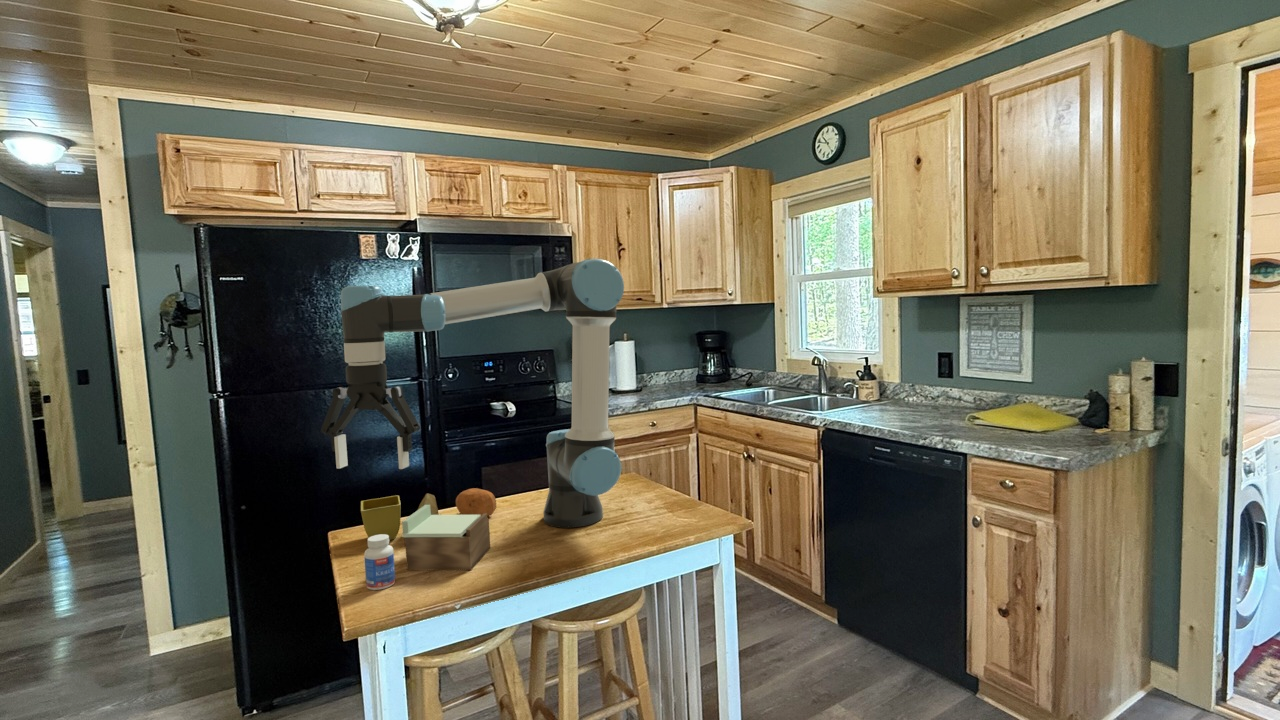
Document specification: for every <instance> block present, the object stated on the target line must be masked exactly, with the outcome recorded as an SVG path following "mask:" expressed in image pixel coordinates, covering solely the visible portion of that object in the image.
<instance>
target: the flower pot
mask: <svg viewBox="0 0 1280 720" xmlns="http://www.w3.org/2000/svg"><path fill="white" fill-rule="evenodd" d="M400 499H401V498H400V495H398V494H397V495H396V494H395V495H391V496H385V497H380V498H379V497H378V498H371V499H366V500H361V501H360V513H361V518H362V519H361V520H362V523H363V528H364V531H365V533H366V535H367V538H369V537H371V536H374V535H379V534H386V535H388V536H389V541H391V540H395V539H396V538H397V536H398V534H399V530H400V528H401V509H402V507H401V500H400Z"/></svg>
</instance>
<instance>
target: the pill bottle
mask: <svg viewBox="0 0 1280 720" xmlns="http://www.w3.org/2000/svg"><path fill="white" fill-rule="evenodd" d="M367 547H368V548H366V550H365V551H364V557H363V558H364V569H365V585H366V588H367V589H369V590H370V591H379V590H384V589H388V588H389V587H392V586H393V585H394V584H395V582H396V574H395V557H394V555H395V554H394V548H393V546H392V545H390V540H389V536H388V535H386V534H379V535H374V536H371V537H367Z"/></svg>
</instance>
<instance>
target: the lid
mask: <svg viewBox="0 0 1280 720" xmlns="http://www.w3.org/2000/svg"><path fill="white" fill-rule="evenodd" d="M480 516H481V515H461V514H439V515H431V508H430V505H424V506H423V507H421V508H420V509H419V510H418V509H417V510H416V511H415V512H413V513H412V514H410V515H409V516H407V517H406V518H405V519H404V520H402V521H401V522H402V523H401V525H402V534H401V537H402V538H405V537H461V536H463V535H464V534H465V533H466V530H467V529H468V528H469V527H470V526H471V525H472V524H473V523H474V522H475V521H476V520H477V519H478V518H479V517H480Z"/></svg>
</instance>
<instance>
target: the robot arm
mask: <svg viewBox="0 0 1280 720" xmlns="http://www.w3.org/2000/svg"><path fill="white" fill-rule="evenodd" d="M624 291H625V282H624V279H623V276H622V274H621V272H620V270H619V269H618V268H617V267H616V266H615V265H614V264H613V263H611V262H610V261H608V260H605V259H601V258H587V259H584V260H582V261H581V260H580V261H578V262H573V263H570V264H567V265H565V266H562V267H558V268H556V269H553V270H549V271H542V272H538V273H537V274H536V276H534V277H531V278H525V279H524V278H523V279H516V280H511V281H504V282H498V283H491V284H484V285H478V286H470V287H464V288H458V289H449V290H444V291H439V292H431V293H424V294H406V295H405V294H404V295H385V294H383V292H382V288H381V287H380V286H378V285H351V286H345V287H344V288H342V290H340V305H341V306H340V313H341V314H340V315H341V323H342V333H343V334H342V335H343V336H342V337H343V350H344V351H343V352H344V353H343V354H344V362H345V363H347V364H348V365H346V367H345V379H346V383H347V385H348V386H347V388H346V387H345V386H339V387H334V388H333V390H332V398H331V399H332V400H331V403H330V405H329V407H328V411H327V412H326V415H325V417H324V420H323V422H322V425H321V428H320V432H321V433H322V434H327V435H329V437H330V440H331V450H332V453H333V452H335V465H336V469H343V468H345V467H348V466H349V464H348V463H349V462H348V461H349V460H348V450H347V449H348V447H347V434H344V430H345V429H346V427H347V426H348V425H349V423H350V422H351V420H352V419H353V417H354V416H355V414H356V413H357V412H358V411H364V410H369V411H372V410H373V411H374V410H377V412H379V413H381V414H382V415H383V416H384V417H385V418H386V420H387V421H388V422H389V423H390V424H391V426H393V428H394V429H395V430H396V431H397V432H398V434H400V435H399V436H397V437H396V443H397V444H396V445H397V456H398V457H397V458H398V469H399V470H403V469H406V468H408V467H410V455H409V454H410V453H409V452H411V451H412V449H413V446H412V445H413V444H412V442H413V441H412V434H415V433H416V432H418V431H419V432H420V430H421V426H420V424H419V422H418V420H417V419H416V417H415V415H414V412H413V411H412V410H411V408H410V406H409V403H408V402H407V400H406V398H405V395H404V391H403V387H402V385H397V386H393V387H390V388H389V387H388V385H387V380H388V374H387V372H388V371H387V365H386V363H383V362H384V361H386V344H385V343H386V342H385V333H409V332H410V333H411V332H412V333H413V332H427V333H429V332H432V331H433V332H434V331H441V330H443V329H444V328H445V325H448V324H449V325H450V324H455V323H462V322H467V321H472V320H473V321H474V320H479V319H485V318H486V319H487V318H490V317H491V318H492V317H496V316H497V317H498V316H504V315H508V314H514V313H520V312H521V313H522V312H527V311H533V310H539V309H541V310H542V311H544V312H545V313H546V312H551V311H566V313H565V318H566V320H568V322H569V323H570V324H571V325H572V343H571V344H572V345H571V346H572V347H571V349H572V350H571V351H572V354H571V355H572V356H571V357H572V358H571V360H572V363H571V364H572V366H571V368H572V369H571V427H570V428H568V429H566V428H565V429H559V430H553V431H551V432H550V431H549V433H548V434H547V435H546V443H545V447H546V457H547V459H546V461H547V474H548V493H547V497H546V501H545V505H544V509H543V521H544V523H545V524H546V525H548V526H550V527H555V528H561V529H562V528H563V529H565V528H567V529H569V528H570V529H572V528H579V527H580V528H581V527H586V526H589V525H593V524H596V523H597V522H599V521H601V520H602V518H603V517H604V512H603V510H604V508H603V505H602V503H601V500H600V499H601V498H600V497H599V496H600V495H603V494H604V495H605V494H606V493H607V492H609V491H610V490H611V489H612V488H613V487H614V486H615V485H616V484H617V483H618V481H619V479H620V477H621V472H622V463H621V459H620V458H619V455H618V453H617V452H616V451H615V434H614V433H613V432H612V430H611V429H610V428H609V400H610V399H609V391H610V390H609V383H610V380H609V379H610V329H611V328H610V327H611V325H612V324H613V323H614V322H615V321H616V320H617V305H618V304H619V303H620V301H621V300H622V298H623V296H624ZM347 397H348V399H350V401H349V402H348V403H347V405H346V406H345V410H344V411H343V413H342V414H341V415H340V413H341V412H342V409H343V405H344V403H345V400H346V398H347ZM387 397H389V398H390V399H392V403H393V404H394V406H395V408H396V409H394V408H393V406H392V403H391V402H390V401H389V400H388V398H387ZM396 410H397V411H396Z"/></svg>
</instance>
